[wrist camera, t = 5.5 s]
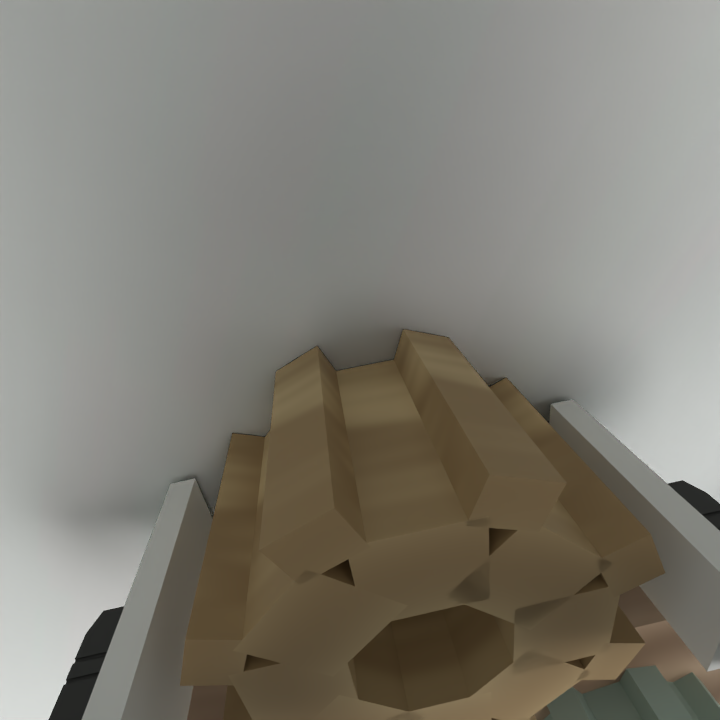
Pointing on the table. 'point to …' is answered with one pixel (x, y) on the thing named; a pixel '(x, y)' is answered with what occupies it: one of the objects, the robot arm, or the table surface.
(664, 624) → the walnut gear board
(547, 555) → the oak gear
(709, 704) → the pale green gear
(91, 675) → the robot arm
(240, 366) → the table surface
